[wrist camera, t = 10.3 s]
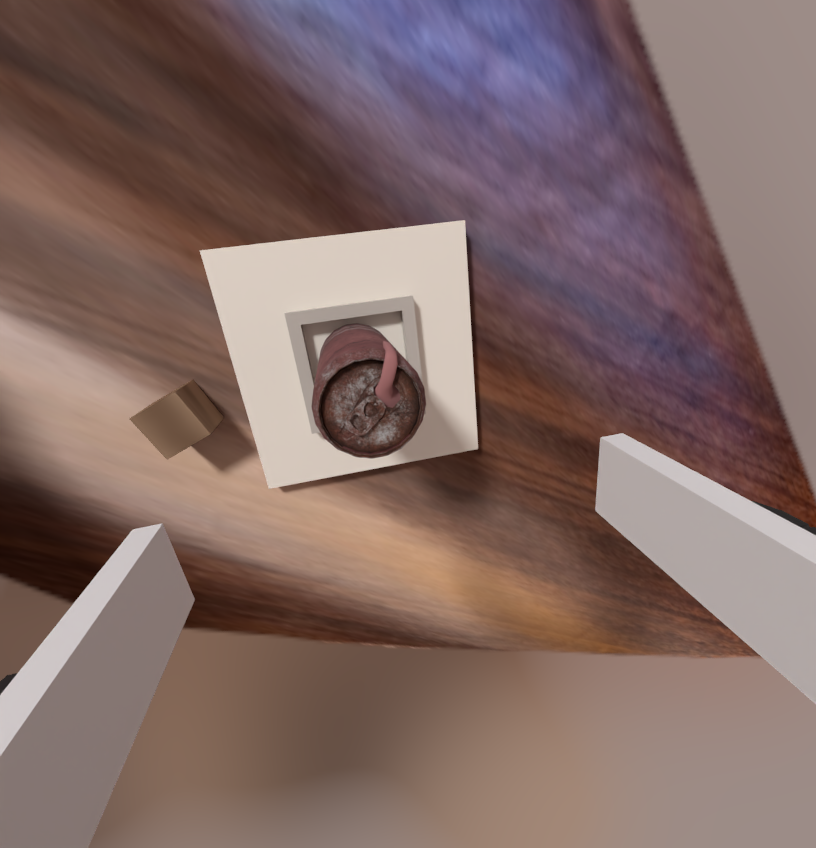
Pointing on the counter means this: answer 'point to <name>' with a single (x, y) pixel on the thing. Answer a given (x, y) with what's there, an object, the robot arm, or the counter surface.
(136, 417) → the walnut block
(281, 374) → the board
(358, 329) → the can
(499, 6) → the counter surface
